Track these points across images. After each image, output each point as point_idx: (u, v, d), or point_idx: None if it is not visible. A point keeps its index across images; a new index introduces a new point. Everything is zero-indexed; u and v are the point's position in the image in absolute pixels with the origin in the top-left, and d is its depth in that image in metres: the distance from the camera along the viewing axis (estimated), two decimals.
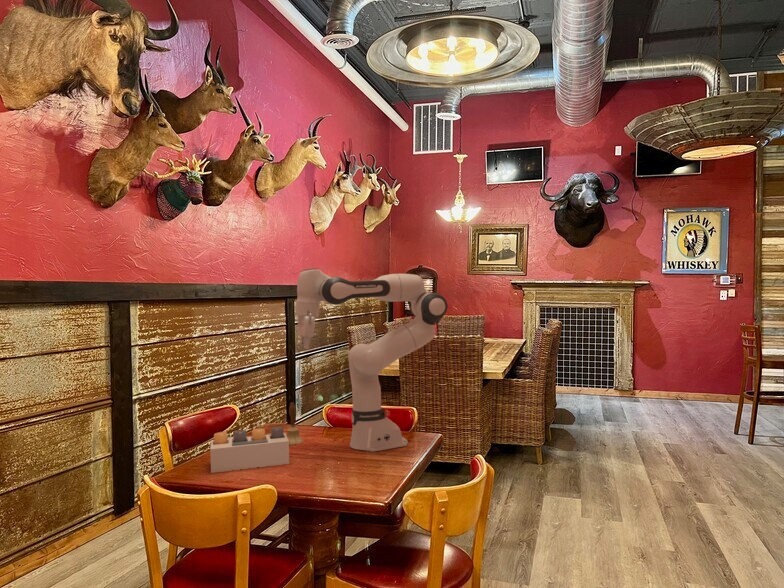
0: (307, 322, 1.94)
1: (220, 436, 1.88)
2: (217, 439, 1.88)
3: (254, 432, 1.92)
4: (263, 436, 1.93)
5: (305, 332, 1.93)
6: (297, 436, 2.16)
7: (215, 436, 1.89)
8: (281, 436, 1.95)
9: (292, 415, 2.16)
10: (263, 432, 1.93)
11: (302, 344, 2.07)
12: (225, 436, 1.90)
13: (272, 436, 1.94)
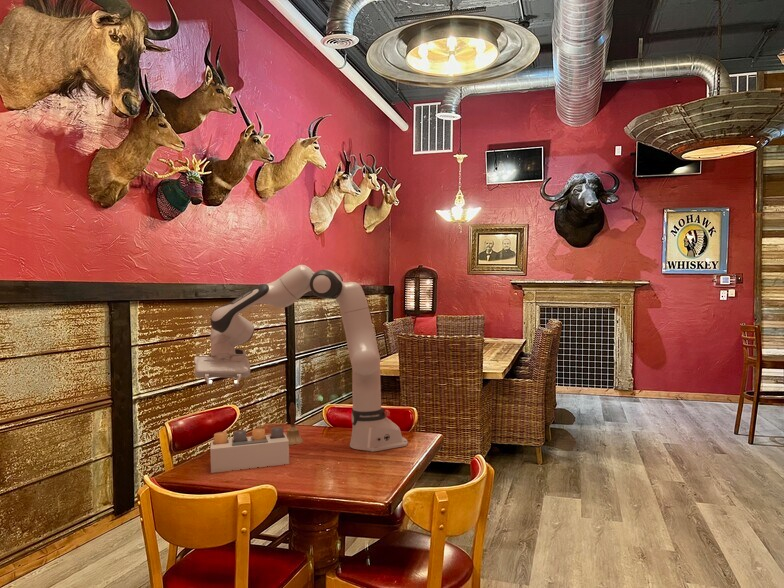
0: None
1: (220, 436, 1.88)
2: (217, 439, 1.88)
3: (254, 432, 1.92)
4: (263, 436, 1.93)
5: None
6: (297, 436, 2.16)
7: (215, 436, 1.89)
8: (281, 436, 1.95)
9: (292, 415, 2.16)
10: (263, 432, 1.93)
11: (234, 384, 2.04)
12: (225, 436, 1.90)
13: (272, 436, 1.94)
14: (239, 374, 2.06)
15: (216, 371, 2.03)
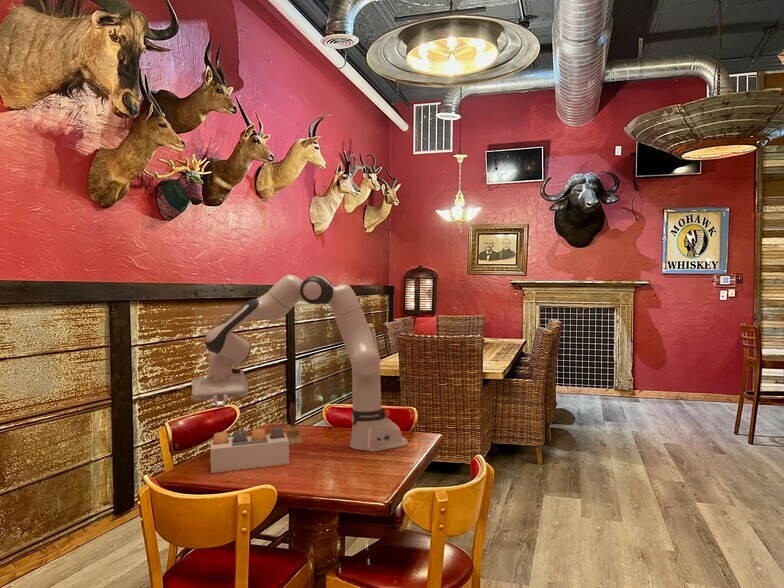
0: None
1: (220, 436, 1.88)
2: (217, 439, 1.88)
3: (254, 432, 1.92)
4: (263, 436, 1.93)
5: None
6: (297, 436, 2.16)
7: (215, 436, 1.89)
8: (281, 436, 1.95)
9: (292, 415, 2.16)
10: (263, 432, 1.93)
11: None
12: (225, 436, 1.90)
13: (272, 436, 1.94)
14: (225, 395, 2.02)
15: (213, 393, 2.01)
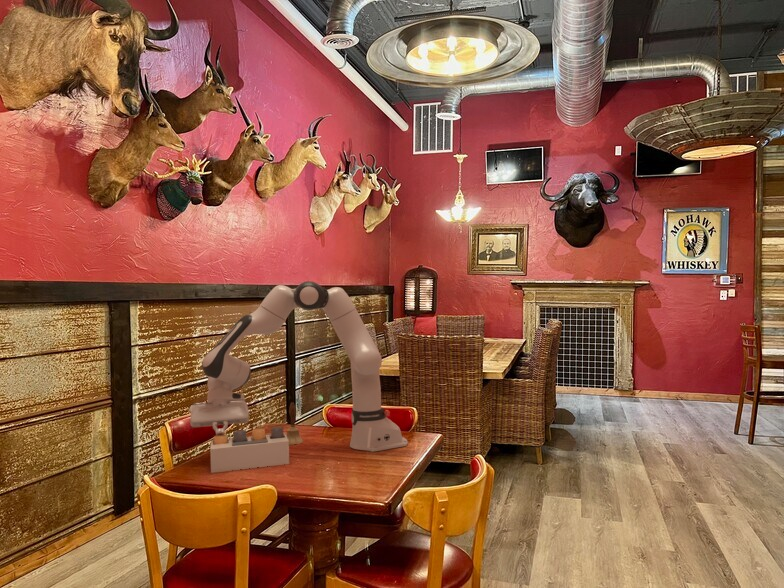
0: None
1: (220, 438, 1.88)
2: (217, 441, 1.88)
3: (254, 432, 1.92)
4: (263, 436, 1.93)
5: None
6: (297, 436, 2.16)
7: (215, 438, 1.89)
8: (281, 436, 1.95)
9: (292, 415, 2.16)
10: (263, 432, 1.93)
11: None
12: (225, 438, 1.90)
13: (272, 436, 1.94)
14: (225, 421, 1.93)
15: (212, 419, 1.92)
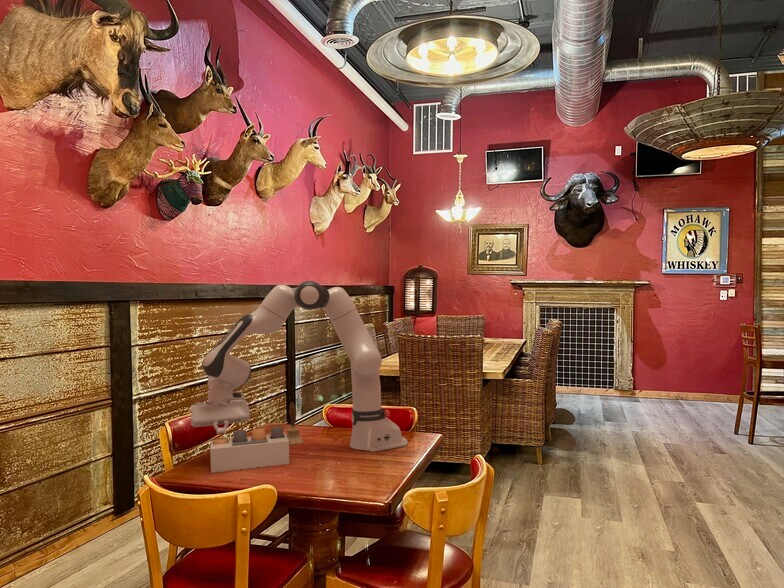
0: None
1: (220, 442, 1.88)
2: None
3: (254, 432, 1.92)
4: (263, 436, 1.93)
5: None
6: (297, 436, 2.16)
7: (215, 442, 1.89)
8: (281, 436, 1.95)
9: (292, 415, 2.16)
10: (263, 432, 1.93)
11: None
12: (225, 442, 1.90)
13: (272, 436, 1.94)
14: (226, 420, 1.93)
15: (213, 419, 1.92)
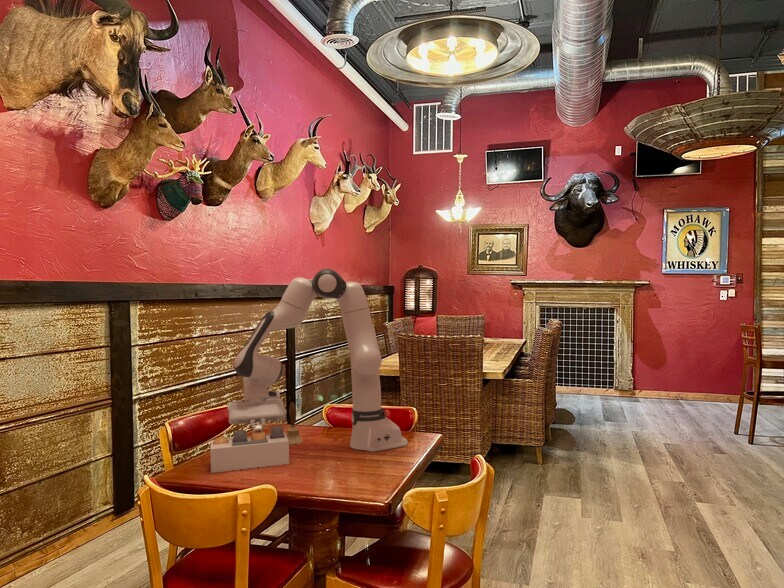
0: None
1: (220, 442, 1.88)
2: None
3: (254, 435, 1.92)
4: None
5: None
6: (297, 436, 2.16)
7: (215, 442, 1.89)
8: (281, 436, 1.95)
9: (292, 415, 2.16)
10: (263, 435, 1.93)
11: None
12: (225, 442, 1.90)
13: (272, 436, 1.94)
14: (263, 419, 1.97)
15: (250, 417, 1.96)
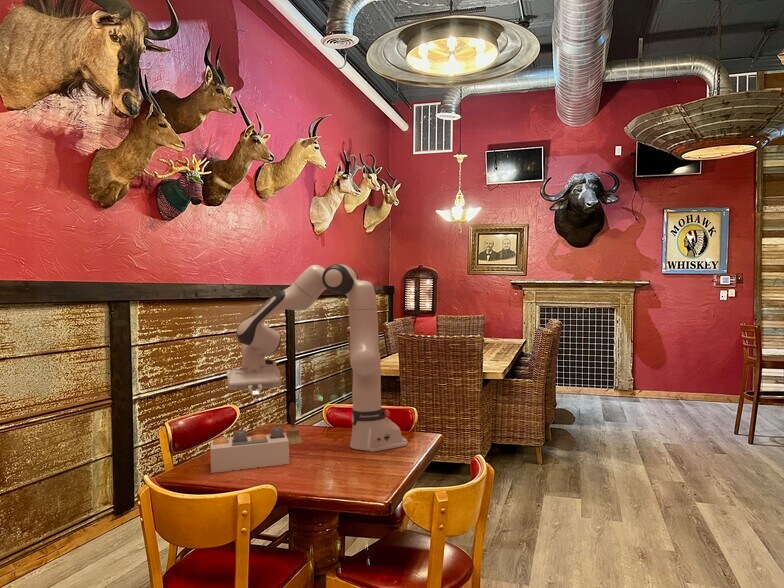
0: None
1: (220, 442, 1.88)
2: None
3: (254, 438, 1.92)
4: None
5: None
6: (297, 436, 2.16)
7: (215, 442, 1.89)
8: (281, 436, 1.95)
9: (292, 415, 2.16)
10: (263, 438, 1.93)
11: None
12: (225, 442, 1.90)
13: (272, 436, 1.94)
14: (260, 385, 2.08)
15: (248, 383, 2.07)
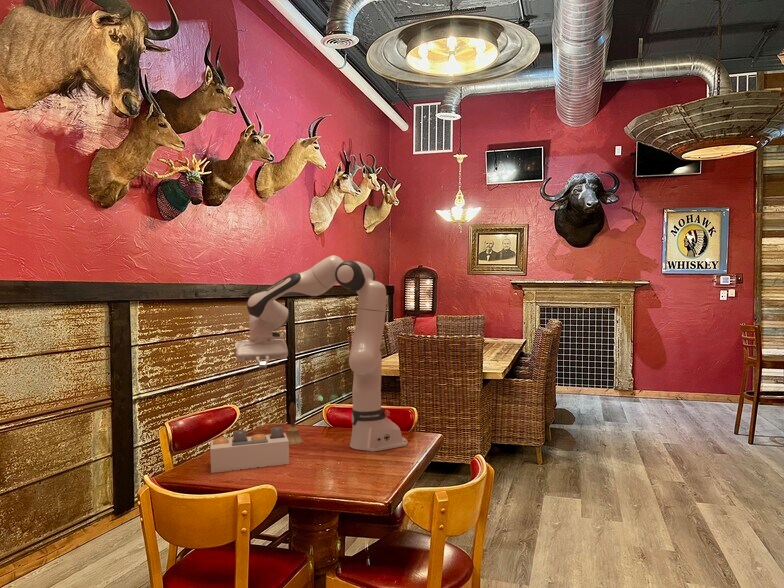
0: None
1: (220, 442, 1.88)
2: None
3: (254, 438, 1.92)
4: None
5: None
6: (297, 436, 2.16)
7: (215, 442, 1.89)
8: (281, 436, 1.95)
9: (292, 415, 2.16)
10: (263, 438, 1.93)
11: None
12: (225, 442, 1.90)
13: (272, 436, 1.94)
14: (267, 356, 2.14)
15: (256, 354, 2.13)
